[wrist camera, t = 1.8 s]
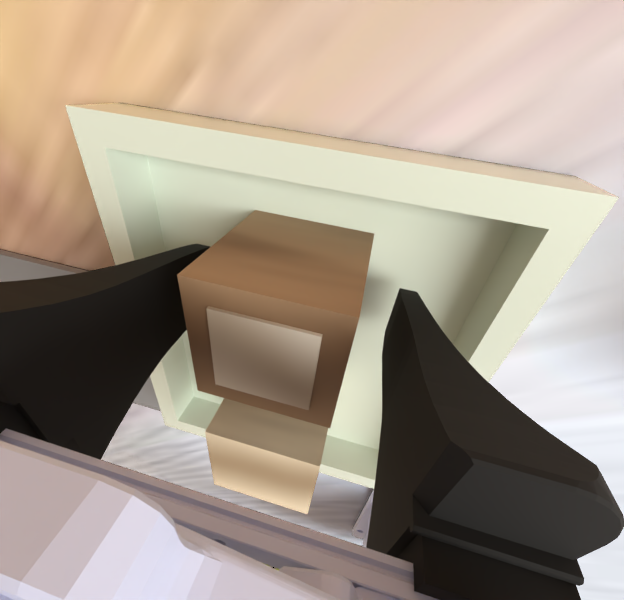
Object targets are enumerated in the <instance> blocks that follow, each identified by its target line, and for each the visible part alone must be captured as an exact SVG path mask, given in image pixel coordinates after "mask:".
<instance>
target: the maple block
mask: <svg viewBox="0 0 624 600" xmlns="http://www.w3.org/2000/svg"><path fill="white" fill-rule="evenodd" d="M327 432H328V428H327V427H324V426H320V425H317V424H313V423H310V422H306V421H303V420H299V419H296V418H292V417H289V416H285V415H282V414H278V413H275V412H271V411H268V410H264V409H261V408H257V407H254V406H250V405H247V404H243V403H240V402H236V401H233V400H229V399H226V398H224V399H223V401H222V403H221V405H220V406H219V408H218V410H217V412H216V413H215V415H214V417H213V419H212V420H211V422H210V424H209V426H208V427H207V429H206V431H205V434H206V440H207V446H208V451H209V457H210V462H211V468H212V473H213V479H214V484H215V485H218V486H221V487H224V488H227V489H230V490H233V491H237V492H240V493H243V494H246V495H249V496H252V497H255V498H258V499H261V500H264V501H267V502H270V503H273V504H277V505H280V506H283V507H286V508H289V509H292V510H295V511H298V512H301V513H304V514H308V510H309V507H310V503H311V499H312V495H313V491H314V488H315V484H316V480H317V476H318V473H319V469H320V465H321V460H322V455H323V450H324V446H325V441H326V436H327Z"/></svg>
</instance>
